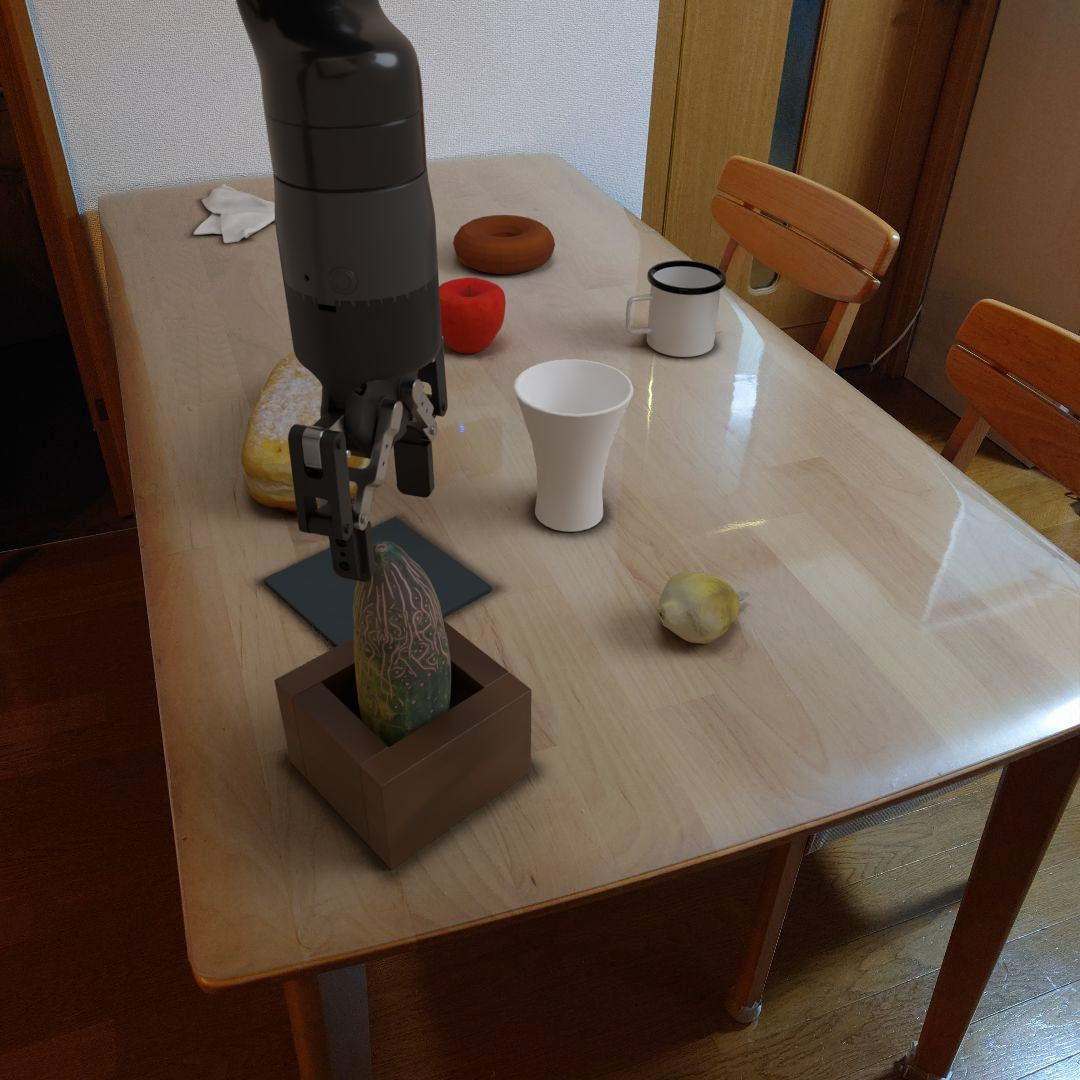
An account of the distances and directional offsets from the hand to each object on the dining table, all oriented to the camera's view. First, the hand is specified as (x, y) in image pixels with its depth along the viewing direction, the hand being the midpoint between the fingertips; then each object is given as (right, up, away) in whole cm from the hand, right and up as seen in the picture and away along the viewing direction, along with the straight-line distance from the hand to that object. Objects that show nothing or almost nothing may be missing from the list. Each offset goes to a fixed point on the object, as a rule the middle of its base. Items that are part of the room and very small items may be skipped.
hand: (387, 532), depth 59 cm
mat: (-5, -4, +28) cm, 29 cm away
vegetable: (0, -16, +12) cm, 21 cm away
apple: (0, +23, +66) cm, 70 cm away
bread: (-14, +9, +46) cm, 49 cm away
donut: (+4, +40, +89) cm, 98 cm away
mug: (+25, +24, +67) cm, 76 cm away
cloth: (-39, +52, +104) cm, 123 cm away
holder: (0, -16, +12) cm, 20 cm away
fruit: (+22, -8, +25) cm, 34 cm away
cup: (+12, +2, +37) cm, 39 cm away
